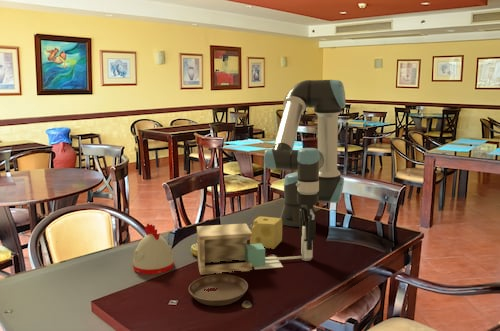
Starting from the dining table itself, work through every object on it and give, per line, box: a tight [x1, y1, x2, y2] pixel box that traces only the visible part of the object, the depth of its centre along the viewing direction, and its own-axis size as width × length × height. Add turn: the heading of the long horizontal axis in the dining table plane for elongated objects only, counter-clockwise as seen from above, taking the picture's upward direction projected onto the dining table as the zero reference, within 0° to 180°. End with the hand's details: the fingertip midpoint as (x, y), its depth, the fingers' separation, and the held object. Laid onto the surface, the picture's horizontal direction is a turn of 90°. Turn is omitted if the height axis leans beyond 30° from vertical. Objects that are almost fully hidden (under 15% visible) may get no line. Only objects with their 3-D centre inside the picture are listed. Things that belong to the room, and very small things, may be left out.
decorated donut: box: [190, 242, 198, 258], centre depth 171 cm, size 10×11×4 cm
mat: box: [252, 256, 284, 270], centre depth 161 cm, size 10×10×1 cm
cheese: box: [249, 215, 283, 250], centre depth 181 cm, size 10×11×10 cm
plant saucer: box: [188, 273, 249, 307], centre depth 136 cm, size 18×18×3 cm
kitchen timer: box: [132, 223, 175, 275], centre depth 158 cm, size 14×14×15 cm
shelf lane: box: [196, 223, 253, 276], centre depth 157 cm, size 18×12×13 cm, turn 101°
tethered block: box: [244, 226, 312, 268], centre depth 161 cm, size 24×6×12 cm, turn 101°
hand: (306, 255), depth 164 cm, fingers closed on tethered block, 3 cm apart
